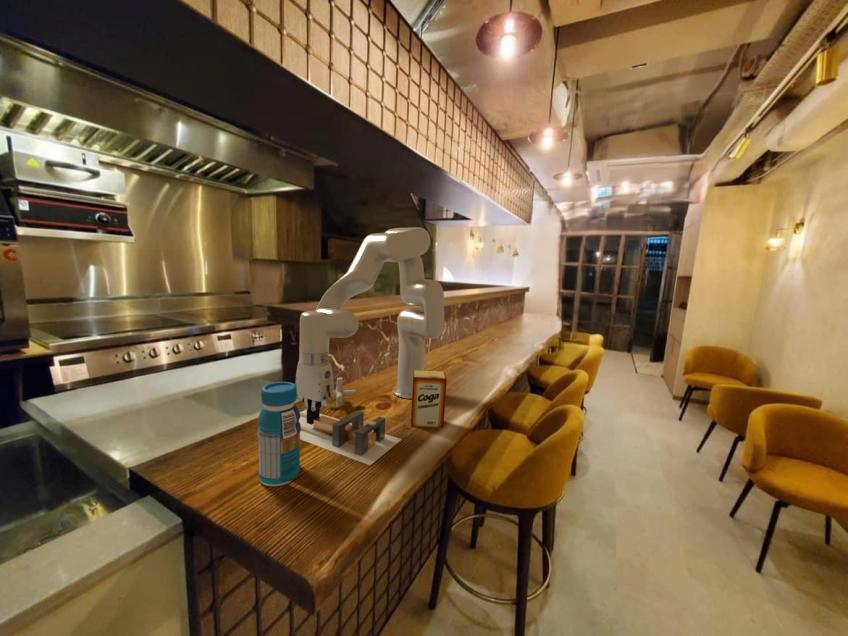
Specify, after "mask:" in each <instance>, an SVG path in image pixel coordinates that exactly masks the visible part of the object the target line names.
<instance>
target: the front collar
mask: <svg viewBox="0 0 848 636" xmlns="http://www.w3.org/2000/svg"><path fill="white" fill-rule="evenodd" d="M371 431H373V432H376V441H377V442H380V441H382V440H383V439H384V438H385V434H386V418H385V417H382V416H377V417H376V418H374V419H372V420H369V421H366V422H365V425H363V427H362V428H360V429H359V430H357V431H355V454H357V455H360V456H362V455H363V454H365V453H366V452H367V449H368V433H370V432H371Z"/></svg>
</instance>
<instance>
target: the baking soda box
mask: <svg viewBox="0 0 848 636" xmlns="http://www.w3.org/2000/svg"><path fill="white" fill-rule="evenodd" d="M447 381H448V380H447V375H446V372H445V371H440V370H439V371H438V370H423V371H418V370H413V386H412V399H411V405H410V406H411V407H410V408H411V411H410V427H418V428H419V427H421V428H443V429H444V427H445V426H444V423H445V411H446V409H445V408H446V398H447V397H446V396H447V395H446V394H447V383H448V382H447Z"/></svg>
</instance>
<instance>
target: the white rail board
mask: <svg viewBox="0 0 848 636" xmlns="http://www.w3.org/2000/svg"><path fill="white" fill-rule="evenodd" d="M299 412H300V419H299V422H300V424H301V432H300V441H304V442H306V443H309V444H312V445H314V446H316V447H320V448H321V449H325V450H327V451H330V452H333V453H336V454H338V455H341V456H344V457H347V458H348V459H352V460H353V461H354V460H355V461H357V462H360V463H363V464H365V465H368V466H371V465H372V464H374V463H375V462H376V461H377V460H379V459H380V458H381V457H382V456H384V454H386V453H387V452H389V451H390V450H391V449H392V448H393V447H394V446H395V445H397V444H398V443H400V442H401V440H402V438H398V437H397V436H392V435H390V434H386V433H385V438H384V439H383V440H382V441H380V442H377V441H376V444H375V445H374V446H373V447H371V448H370V449H369V450H367V452H366V453H365V454H363V455H362V456H360V455H357V454H355V445H352V444H349V443H346V442H345V444H343V445H342V446H340V447H339V448H338V447H335V446H332V436H329V435H326V434H324V433H321V432H318V431H315V430H314V424H312V425H311V424H308V423H307V409H306V408H305V409H304V410H302V411H299ZM322 415H323V416H326V417H329V418H332V419H335V420H338V421H339V420H340V419H338V418H335V417H332V416H328V415H325V414H322V413H320V416H322ZM350 424H351V425H352V423H350Z"/></svg>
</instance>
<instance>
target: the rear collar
mask: <svg viewBox="0 0 848 636" xmlns="http://www.w3.org/2000/svg"><path fill="white" fill-rule="evenodd" d="M364 417H365V411H361V410H359V409H358V410H356V411H353V412H352V413H350V414H349V415H346V416H345V417H342V418H341V419H339V421H337V422H336V423H334V424H333V426H332V446H335V447H338V448H339V447H340V446H342V445H343V444H345V426H347V425H348V424H350V423H352V425H354V426H357V427H360V428H362V427H363V426H364Z"/></svg>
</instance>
